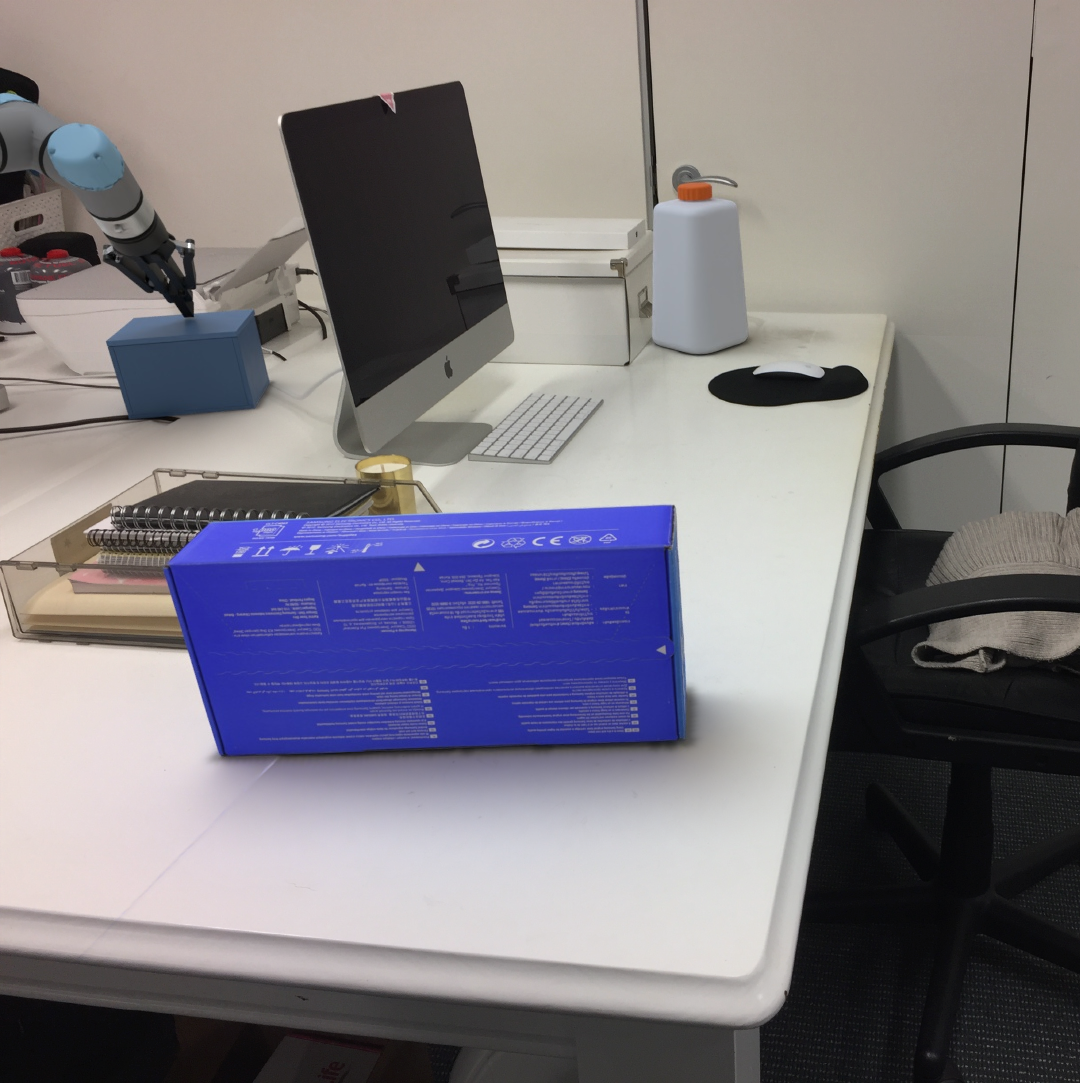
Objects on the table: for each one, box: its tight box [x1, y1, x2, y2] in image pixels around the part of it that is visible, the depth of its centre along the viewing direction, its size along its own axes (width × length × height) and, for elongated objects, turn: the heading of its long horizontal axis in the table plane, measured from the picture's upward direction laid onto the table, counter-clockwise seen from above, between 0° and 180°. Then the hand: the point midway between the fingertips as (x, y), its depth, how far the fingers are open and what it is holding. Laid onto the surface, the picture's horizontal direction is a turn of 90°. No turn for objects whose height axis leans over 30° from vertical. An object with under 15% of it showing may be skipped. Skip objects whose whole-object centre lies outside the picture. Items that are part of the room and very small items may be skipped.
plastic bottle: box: [651, 182, 749, 355], centre depth 186 cm, size 15×15×28 cm
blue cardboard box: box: [162, 503, 688, 757], centre depth 85 cm, size 39×8×18 cm, turn 91°
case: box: [107, 315, 271, 420], centre depth 167 cm, size 14×19×12 cm
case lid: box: [105, 308, 256, 348], centre depth 165 cm, size 14×19×1 cm
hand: (189, 310), depth 168 cm, fingers closed
